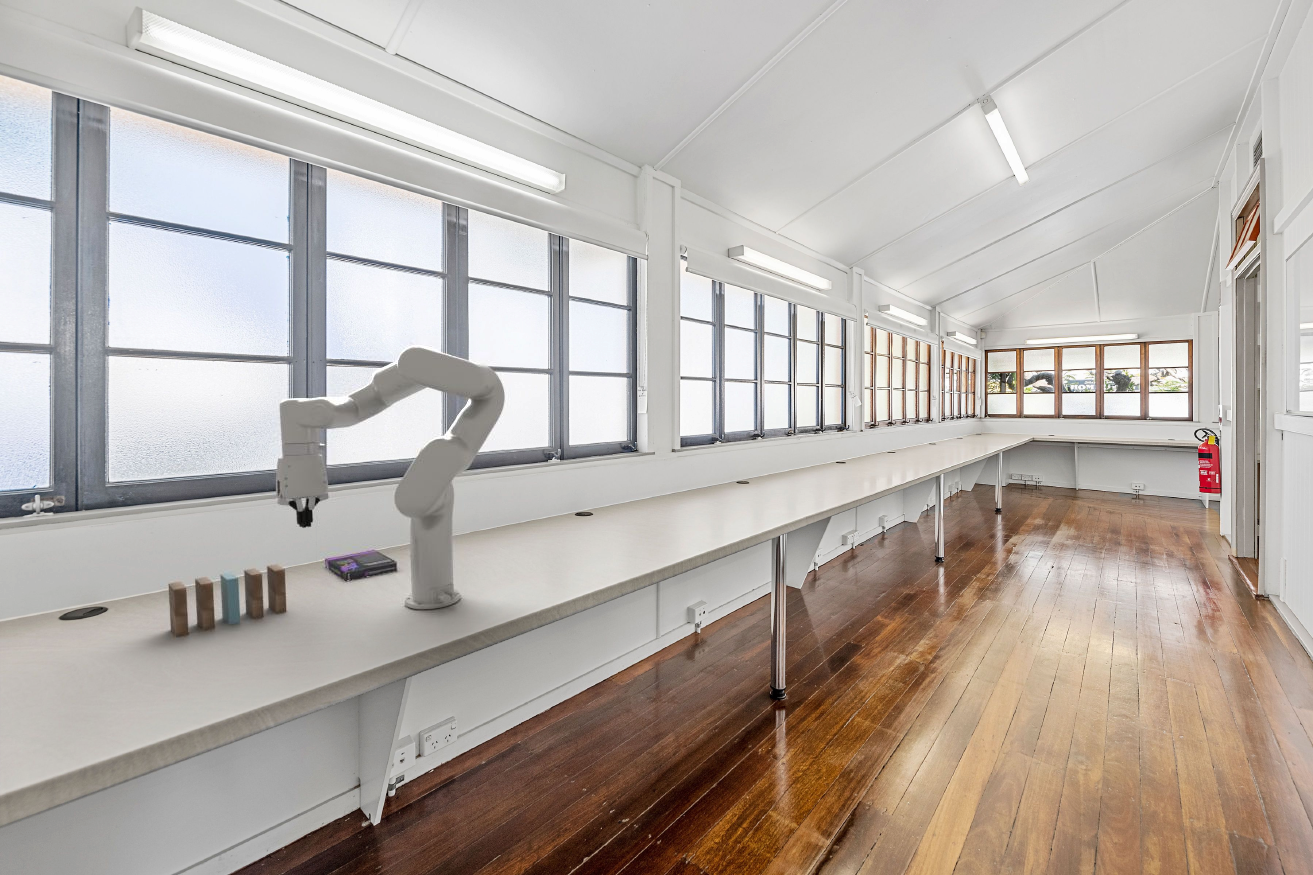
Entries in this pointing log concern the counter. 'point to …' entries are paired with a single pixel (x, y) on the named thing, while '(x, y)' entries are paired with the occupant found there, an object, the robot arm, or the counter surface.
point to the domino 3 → (230, 598)
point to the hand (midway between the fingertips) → (305, 526)
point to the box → (360, 565)
